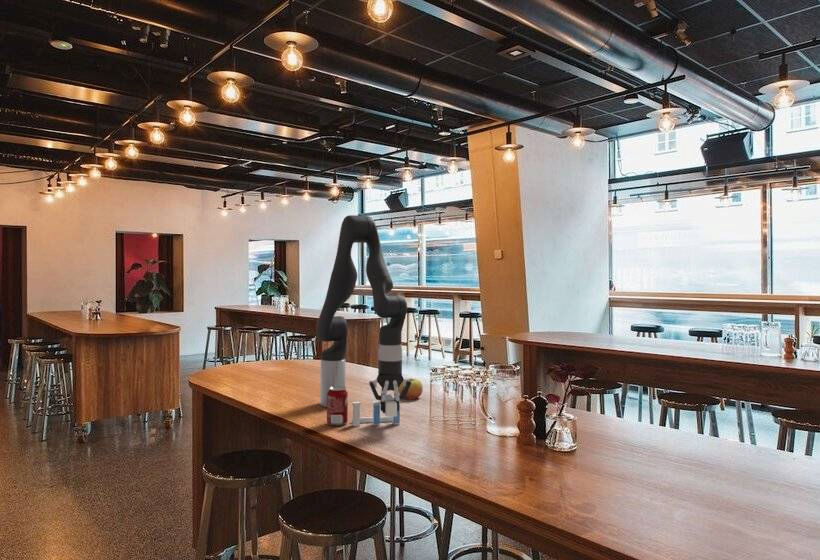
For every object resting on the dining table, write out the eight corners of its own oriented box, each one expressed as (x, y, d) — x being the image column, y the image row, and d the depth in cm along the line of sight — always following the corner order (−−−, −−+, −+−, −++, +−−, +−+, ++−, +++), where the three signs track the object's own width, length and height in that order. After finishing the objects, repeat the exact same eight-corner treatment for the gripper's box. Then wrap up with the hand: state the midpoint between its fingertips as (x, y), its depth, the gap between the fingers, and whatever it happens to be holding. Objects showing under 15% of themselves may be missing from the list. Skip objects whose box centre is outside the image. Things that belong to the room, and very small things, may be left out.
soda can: (343, 427, 182) (344, 390, 182) (323, 426, 184) (324, 389, 183) (350, 421, 189) (350, 386, 189) (330, 420, 190) (331, 385, 190)
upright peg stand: (351, 422, 188) (351, 399, 188) (397, 420, 191) (397, 398, 191) (352, 426, 183) (353, 403, 183) (400, 424, 186) (400, 401, 186)
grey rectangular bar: (381, 406, 187) (381, 394, 187) (390, 406, 188) (390, 394, 188) (386, 416, 175) (386, 404, 175) (396, 416, 175) (397, 403, 175)
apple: (408, 402, 218) (409, 381, 218) (392, 397, 225) (393, 377, 225) (427, 398, 224) (427, 378, 224) (411, 394, 232) (411, 374, 231)
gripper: (409, 356, 184) (409, 408, 184) (366, 356, 181) (366, 410, 181) (414, 359, 176) (413, 414, 177) (369, 360, 174) (369, 416, 174)
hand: (389, 412), depth 179 cm, fingers closed on grey rectangular bar, 3 cm apart
